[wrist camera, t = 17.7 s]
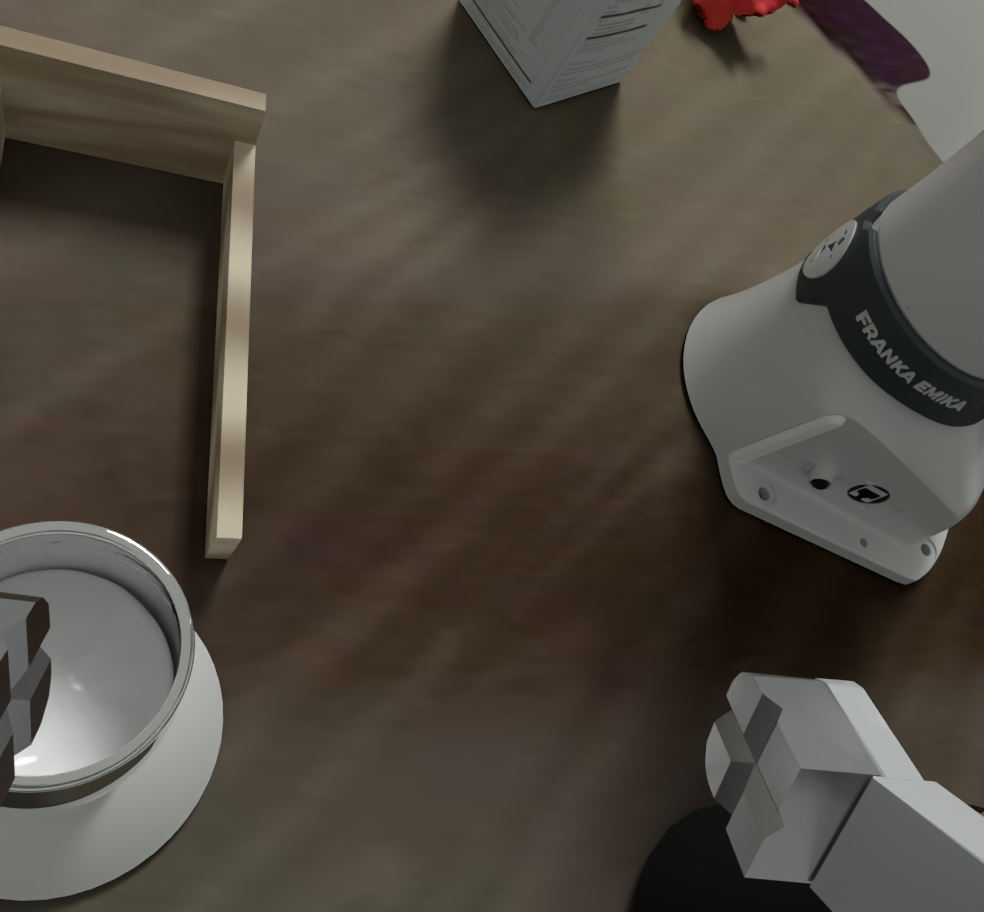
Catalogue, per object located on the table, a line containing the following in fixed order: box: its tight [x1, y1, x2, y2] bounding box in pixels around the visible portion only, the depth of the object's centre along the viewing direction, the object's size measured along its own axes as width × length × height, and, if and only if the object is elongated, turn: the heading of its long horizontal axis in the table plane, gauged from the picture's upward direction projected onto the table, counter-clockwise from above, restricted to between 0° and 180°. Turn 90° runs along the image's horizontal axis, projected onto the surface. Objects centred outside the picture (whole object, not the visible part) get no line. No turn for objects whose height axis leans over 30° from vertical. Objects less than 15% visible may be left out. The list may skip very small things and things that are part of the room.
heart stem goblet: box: [0, 521, 195, 820], centre depth 27 cm, size 7×7×15 cm
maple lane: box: [0, 26, 266, 559], centre depth 38 cm, size 21×12×6 cm, turn 5°
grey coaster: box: [0, 631, 223, 901], centre depth 34 cm, size 12×12×1 cm
